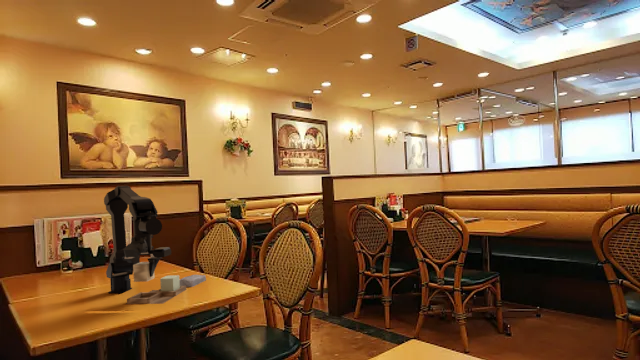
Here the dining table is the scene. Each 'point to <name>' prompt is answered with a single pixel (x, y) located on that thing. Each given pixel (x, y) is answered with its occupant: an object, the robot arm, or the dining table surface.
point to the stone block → (192, 280)
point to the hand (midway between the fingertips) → (144, 276)
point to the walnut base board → (154, 296)
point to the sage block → (170, 283)
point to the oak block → (142, 272)
